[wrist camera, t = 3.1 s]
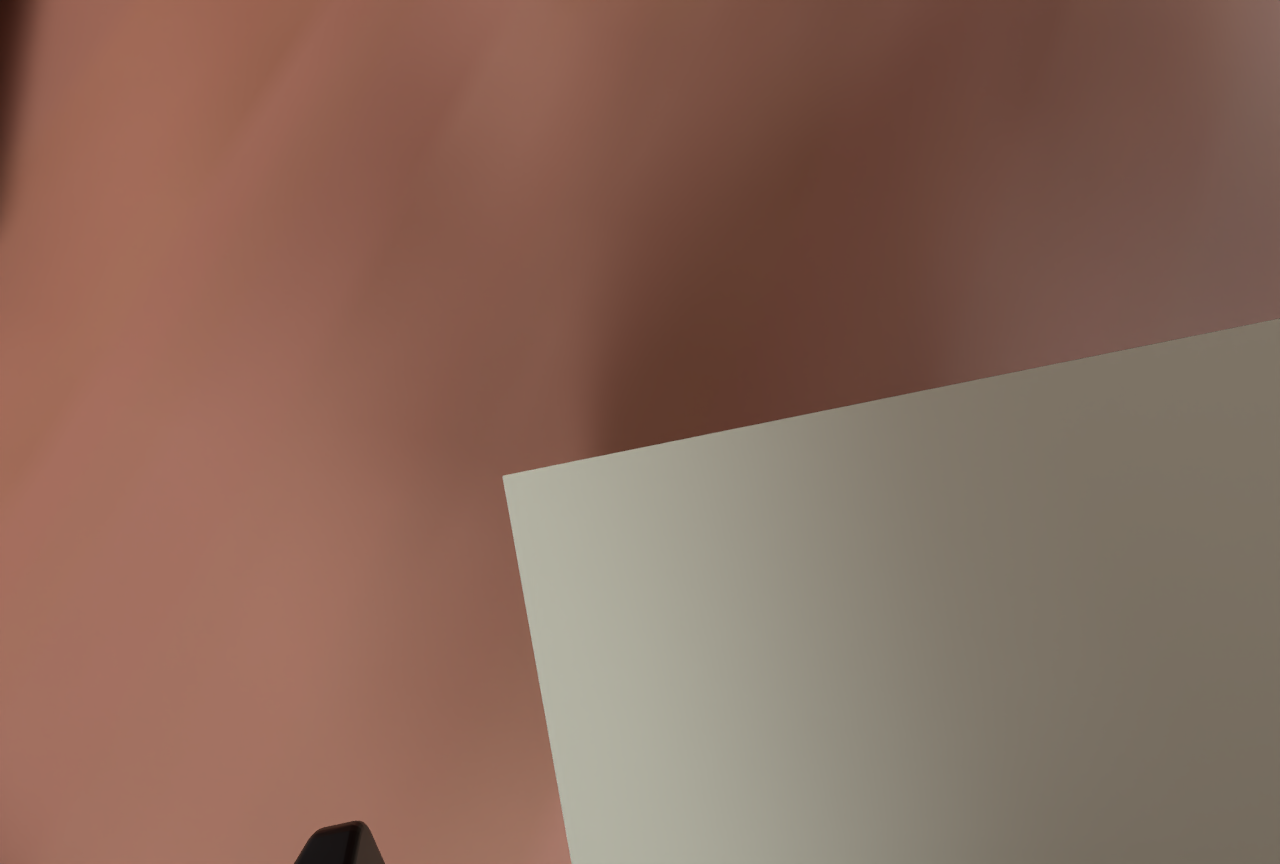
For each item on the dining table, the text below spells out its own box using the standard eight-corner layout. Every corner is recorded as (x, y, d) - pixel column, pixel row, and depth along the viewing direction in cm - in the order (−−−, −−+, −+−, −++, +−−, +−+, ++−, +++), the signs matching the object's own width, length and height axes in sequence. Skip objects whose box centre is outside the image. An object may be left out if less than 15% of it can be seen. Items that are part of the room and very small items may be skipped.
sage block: (968, 858, 16) (1611, 1206, 5) (653, 928, 16) (673, 1437, 5) (885, 544, 17) (1280, 318, 7) (591, 605, 17) (502, 476, 6)
